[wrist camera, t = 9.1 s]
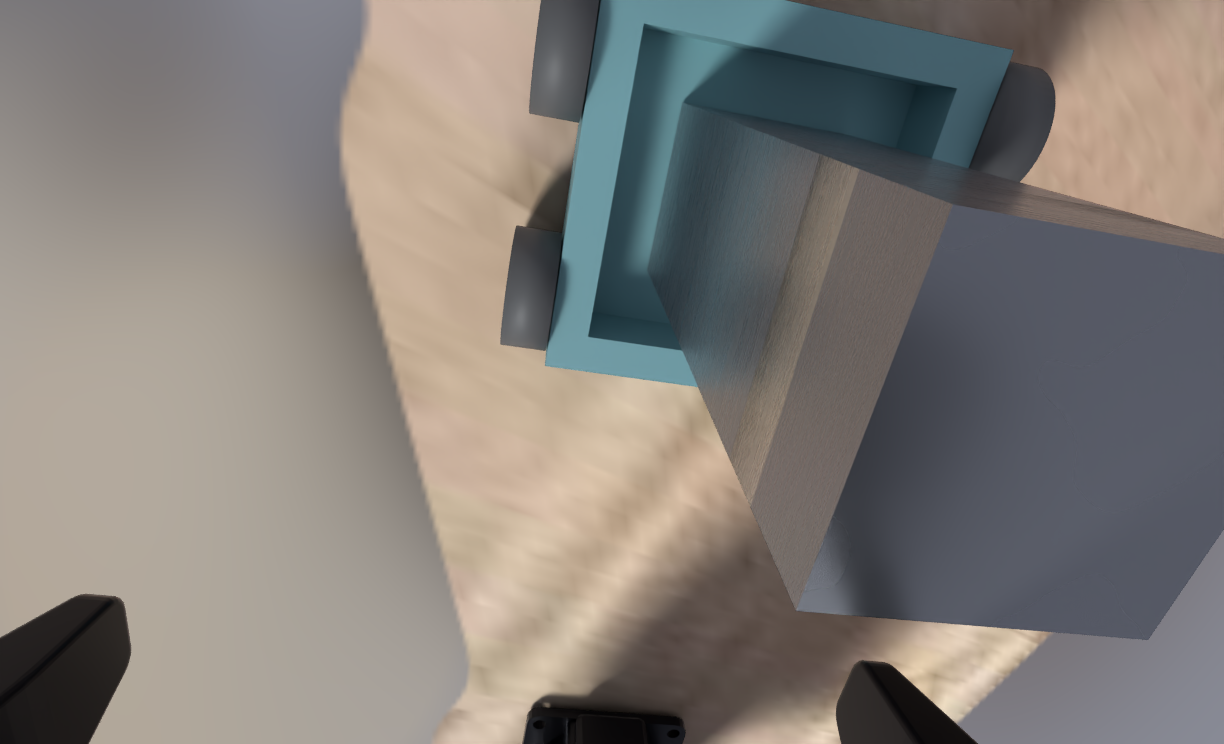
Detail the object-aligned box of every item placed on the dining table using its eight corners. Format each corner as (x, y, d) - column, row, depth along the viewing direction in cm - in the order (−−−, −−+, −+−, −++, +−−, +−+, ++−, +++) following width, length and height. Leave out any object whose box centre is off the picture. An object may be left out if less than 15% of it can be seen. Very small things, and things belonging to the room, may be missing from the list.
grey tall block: (795, 293, 20) (1148, 640, 8) (646, 270, 19) (795, 611, 7) (845, 134, 18) (1389, 285, 6) (682, 102, 17) (952, 203, 6)
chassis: (877, 377, 22) (925, 427, 19) (506, 324, 20) (496, 368, 17) (997, 60, 18) (1080, 61, 15) (550, -36, 16) (547, -56, 14)
